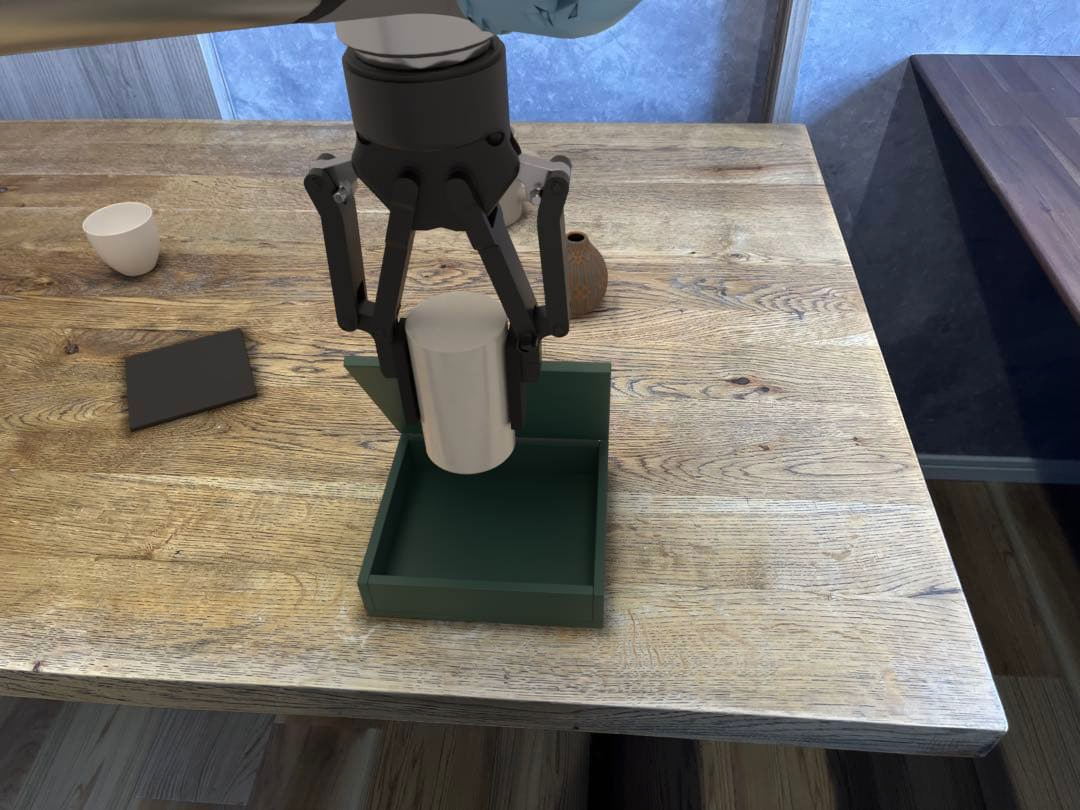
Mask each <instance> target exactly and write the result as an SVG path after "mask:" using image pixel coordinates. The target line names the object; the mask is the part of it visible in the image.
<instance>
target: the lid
mask: <svg viewBox="0 0 1080 810" xmlns="http://www.w3.org/2000/svg"><path fill="white" fill-rule="evenodd" d="M343 357H344V358H343V363H342V365H343V367H344V369H345V370H346V371H347V372H348V373H349V374H350V376H351V377H352V378H353V379H354V380H355V382H356V383H357V384H358V386H359V387H361V389H362V390H363V391H364V392H365V393H366V395H367V396H368V397H369V398H370V400H371V401H372V402H373V403H374V404H375V405H376V407H377V408H378V409H379V410H380V411H381V413H382V414H383V415H384V417H386V418H387V420H388V421H389V422H390V423H391V424H392V425H393V427H394V428H395V429H396V430H397V431H398V433H399V434H401V433H406V434H423V430H422V424H421V418H420V420H419V423H418V426H406V422H405V417H404V412H403V407H402V401H401V396H400V391H399V386H398V380H397V379H395V378H385V377H384V376H383V374H382V373H381V370H380V364H379V360H378V355H349V354H348V355H346V354H345V355H344V356H343ZM611 389H612V362H611V361H609V362H608V361H574V360H572V361H571V360H569V361H568V360H542V368H541V376H540V378H539V380H538V382H537V383H530V382H526V392H527V405H526V412H525V419H524V426H523V430H515V434H516V437H522V438H551V439H580V440H599V441H600V440H608V441H610V425H611V424H610V423H611V422H610V421H611V394H612V393H611V392H612V390H611Z"/></svg>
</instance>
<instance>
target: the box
mask: <svg viewBox="0 0 1080 810" xmlns="http://www.w3.org/2000/svg"><path fill="white" fill-rule="evenodd" d="M609 449H610V440H580V439H551V438H522V437H516V442H515V446H514V449H513V451H512V453H511V454H510V456H509V457H508V458H507V459H506V460H505V461H504V462H503V463H501V464H500V465H498V466H497V467H495V468H493V469H490V470H488V471H485V472H481V473H475V474H458V473H453V472H449V471H447V470H444V469H442V468H440V467H439V466H437V465H436V464H435V463H434V462H433V461H432V460H431V459H430V458H429V456H428V454H427V451H426V447H425V441H424V435H423V434H406V433H400V436H399V439H398V443H397V446H396V449H395V451H394V455H393V460H392V462H391V465H390V469H389V472H388V475H387V479H386V483H385V486H384V490H383V493H382V496H381V500H380V503H379V506H378V509H377V513H376V517H375V519H374V523H373V527H372V530H371V533H370V537H369V539H368V543H367V547H366V550H365V553H364V557H363V560H362V564H361V567H360V571H359V574H358V577H357V581H356V585H357V588H358V591H359V595H360V597H361V601H362V604H363V607H364V610H365V614H366V616H367V617H382V618H385V617H387V618H403V619H418V620H419V619H422V620H439V621H440V620H441V621H457V622H458V621H459V622H461V621H462V622H477V623H495V624H496V623H497V624H516V625H531V626H550V627H551V626H552V627H570V628H587V629H603V628H604V620H605V619H604V616H605V588H606V587H605V584H606V583H605V582H606V556H607V555H606V554H607V551H606V550H607V549H606V548H607V545H606V544H607V521H608V520H607V518H608V515H607V514H608V483H609V455H610V454H609V452H610V450H609Z"/></svg>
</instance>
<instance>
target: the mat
mask: <svg viewBox="0 0 1080 810" xmlns="http://www.w3.org/2000/svg"><path fill="white" fill-rule="evenodd" d="M124 365H125V378H126V379H125V380H126V382H125V383H126V394H127V395H126V396H127V408H128V426H129V430H130V432H134V431H138V430H142V429H145V428H148V427H153V426H157V425H159V424H163V423H167V422H170V421H173V420H174V421H175V420H178V419H181V418H185V417H188V416H191V415H195V414H198V413H203V412H205V411H209V410H214V409H217V408H219V407H221V408H222V407H225V406H227V405H232V404H235V403H239V402H242V401H246V400H248V399H253V398H255V397H258V393H257V389H256V384H255V381H254V377H253V372H252V369H251V365H250V361H249V356H248V352H247V349H246V345H245V341H244V337H243V333H242V329H241V327H237V328H234V329H229V330H226V331H222V332H218V333H215V334H210V335H207V336H203V337H198V338H194V339H191V340H187V341H183V342H178V343H175V344H172V345H167V346H164V347H160V348H155V349H152V350H148V351H144V352H141V353H136V354H133V355H128V356H124Z"/></svg>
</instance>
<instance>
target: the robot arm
mask: <svg viewBox="0 0 1080 810" xmlns="http://www.w3.org/2000/svg"><path fill="white" fill-rule="evenodd" d="M642 2H643V0H0V57H8V56H16V55H24V54H33V53H34V54H35V53H43V52H51V51H52V52H53V51H60V50H71V49H80V48H88V47H99V46H106V45H107V46H108V45H116V44H126V43H133V42H141V41H150V40H161V39H168V38H170V39H171V38H177V37H178V38H179V37H186V36H197V35H205V34H214V33H222V32H233V31H240V30H249V29H250V30H251V29H259V28H267V27H276V26H277V27H278V26H286V25H297V24H307V25H308V24H309V25H310V24H313V25H319V24H320V25H321V24H329V23H334V27H335V34H336V38H337V39H338V40H339V41H340V42H341V43H342V44H343V45H345V46H346V49H345V51H344V53H343V54H342V57H341V65H342V71H343V76H344V80H345V87H346V92H347V97H348V103H349V107H350V108H349V109H350V113H351V118H352V124H353V128H354V131H355V144H354V148H353V150H352V152H351V153H347V154H344V155H341V156H338V157H336V156H335V155H334V154H332V153H329V152H323V153H321V154H319V155H318V156H317V158H316V160H314V163H313V164H312V165H311V167H310V169H309V171H308V172H307V174H306V176H305V177H304V178H303V187H304V189H305V191H306V193H307V195H308V197H309V199H310V200H311V202H312V205H313V206H314V208H315V209H316V211H317V213H318V215H319V217H320V223H321V229H322V236H323V243H324V248H325V255H326V261H327V267H328V274H329V281H330V286H331V292H332V298H333V304H334V310H335V318H336V322H337V326H338V327H339V328H340V330H342V331H344V332H346V333H353V332H355V331H357V330H358V331H361V332H365V333H367V334H368V335H370V336H371V338H372V339H373V341H374V344H375V345H374V346H375V351H376V356H378V360H379V364H380V370H381V373H382V374H383V376H384V377H385V378H395V379H397V380H398V386H399V391H400V396H401V401H402V407H403V412H404V417H405V422H406V426H418V423H419V420H420V412H419V407H418V401H417V395H416V389H415V383H414V378H413V372H412V366H411V360H410V355H409V349H408V343H407V337H406V331H405V321H406V318H407V316H406V317H403V316H402V317H398V316H399V314H400V312H401V308H402V299H403V295H404V291H405V286H406V280H407V275H408V271H409V266H410V261H411V256H412V251H413V246H414V242H415V237H416V233H417V231H419V232H427V231H432V230H435V229H445V230H449V231H453V232H464V233H465V234H466V236H467V238H468V241H469V243H470V245H471V248H472V249H473V250H474V251H477V253H478V255H479V256H480V260H481V261H482V264H483V266H484V268H485V271H486V272H487V275H488V277H489V279H490V282H491V284H492V286H493V288H494V290H495V293H496V295H497V297H498V299H499V301H500V302H499V303H500V304H501V305H502V306H503V308H504V311H505V313H506V315H507V317H508V323H509V324H508V336H507V341H506V346H505V353H506V367H507V381H508V395H509V408H510V422H511V430H523V426H524V419H525V412H526V405H527V392H526V382H530V383H537V382H538V380H539V378H540V376H541V368H542V361H543V345H542V344H543V343H542V340H543V339H545V338H547V337H550V336H552V337H554V338H559V339H561V338H564V337H566V336H567V335H568V334H569V332H570V326H571V316H572V315H571V306H572V303H571V291H570V279H569V267H568V255H567V243H566V234H567V233H566V220H565V209H564V208H565V205H566V201H567V199H568V196H569V192H570V184H571V176H572V169H573V168H572V167H573V164H572V161H571V159H569V157H568V156H566V155H563V154H556V155H554V156H552V157H551V158H550V160H547V159H543V158H541V159H540V158H536V157H533V156H529V155H526V154H522V152H521V148H522V147H521V145H520V144H519V141H518V142H517V141H516V139H515V138H514V136H513V134H512V131H511V127H510V124H511V121H510V119H511V118H510V103H509V102H510V101H509V84H508V83H509V81H508V64H507V63H508V62H507V49H506V48H507V47H506V45H505V43H504V41H503V40H501V38H500V37H499V36H501V35H502V36H504V35H510V34H511V33H521V34H525V35H534V36H541V37H548V38H555V39H565V40H575V39H580V38H586V37H591V36H594V35H598V34H599V33H602V32H604V31H606V30H609V29H611V28H612V27H613V26H616V25H617V24H618V23H619V22H620V21H622V20H623V19H624V18H625V17H626V16H628V14H629V13H631V12H632V11H633V10H634V9H635V8H636V7H637V6H639V5H640V4H641V3H642ZM358 179H359V181H361V182H362V183H363V184H364V185H365V186H366V187H367V188H368V190H369V191H370V192H371V193H372V194H373V195H374V196H375V197H376V199H378V200H379V201H380V202H381V203H382V205H384V206H385V208H386V209H388V211H389V215H388V220H387V227H386V231H385V237H384V248H383V249H384V250H383V256H382V261H381V267H380V272H379V277H378V284H377V289H376V295H375V300H374V301H372V300H369V296H368V289H367V281H366V275H365V265H364V259H363V257H364V256H363V251H362V250H363V249H362V242H361V234H360V227H359V226H360V225H359V217H358V210H357V203H356V198H355V194H356V192H357V190H358V188H359V182H358ZM515 179H517V180H519V181H521V184H523V185H524V188H525V189H526V197H527V199H528V200H529V201H530V202H529V203H531V205H532V206H534V207H538V208H537V214H536V215H537V216H536V230H537V232H536V233H537V238H538V239H537V241H538V248H539V249H538V250H539V258H540V260H539V261H540V267H541V277H542V278H541V279H542V285H543V286H542V287H543V295H544V304H543V305H539V303H538V301H537V298H536V295H535V293H534V291H533V289H532V285H531V283H530V281H529V279H528V276H527V273H526V271H525V268H524V267H523V264H522V262H521V260H520V257H519V255H518V252H517V250H516V247H515V244H514V242H513V240H512V238H511V235H510V233H509V231H508V228H507V227H506V225H505V223H504V218H503V212H502V209H501V206H500V204H499V201H500V200H501V198H502V197H503V195H504V194H505V193H506V191H507V190H508V189H509V187H510V186H511V185H512V183H513V182H514V180H515Z"/></svg>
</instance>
